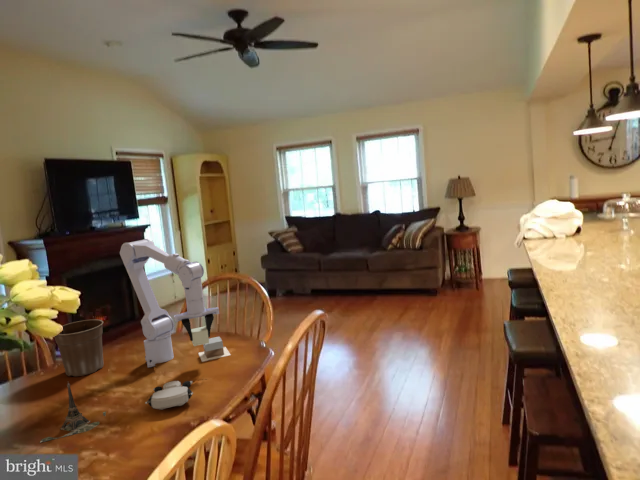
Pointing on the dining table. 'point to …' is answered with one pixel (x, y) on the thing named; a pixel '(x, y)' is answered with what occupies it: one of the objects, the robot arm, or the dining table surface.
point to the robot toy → (170, 395)
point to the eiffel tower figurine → (74, 420)
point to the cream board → (204, 358)
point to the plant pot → (81, 347)
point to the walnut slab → (214, 352)
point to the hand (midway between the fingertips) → (200, 338)
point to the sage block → (200, 336)
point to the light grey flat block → (213, 344)
